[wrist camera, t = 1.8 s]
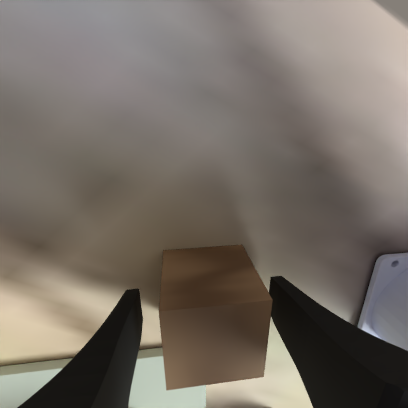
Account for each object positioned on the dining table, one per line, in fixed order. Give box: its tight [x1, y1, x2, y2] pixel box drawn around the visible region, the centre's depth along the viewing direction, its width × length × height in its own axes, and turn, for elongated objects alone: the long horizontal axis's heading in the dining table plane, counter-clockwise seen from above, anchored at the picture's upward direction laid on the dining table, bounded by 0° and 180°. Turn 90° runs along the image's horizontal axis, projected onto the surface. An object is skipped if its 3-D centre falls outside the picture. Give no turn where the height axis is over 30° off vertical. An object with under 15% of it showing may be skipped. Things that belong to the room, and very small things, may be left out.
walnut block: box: [159, 245, 273, 391], centre depth 12 cm, size 4×4×4 cm
